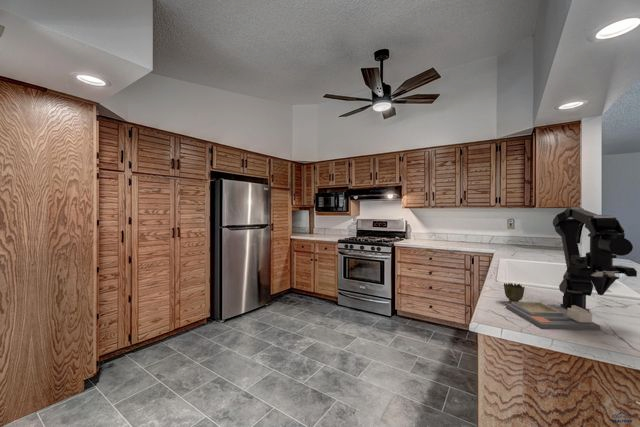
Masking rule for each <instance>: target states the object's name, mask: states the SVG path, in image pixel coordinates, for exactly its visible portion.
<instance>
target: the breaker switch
mask: <svg viewBox="0 0 640 427" xmlns="http://www.w3.org/2000/svg"><path fill="white" fill-rule="evenodd" d="M566 310H567V317H569V318H571V319H573V320H576V321H578V322H587V323H592V322H593V321H592V320H593V318H592V317H593V315H592V314H593V313H592V312H590V311H588V310H585V309H583V308H580V307H578V306H575V305H572V308H566Z"/></svg>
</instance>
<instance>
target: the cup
mask: <svg viewBox="0 0 640 427" xmlns="http://www.w3.org/2000/svg"><path fill="white" fill-rule="evenodd" d="M503 289H504V295H505V297H506V298H507V299H508V302H509V304H512V302H520V301H521V300H522V299H523V297H524V293H525V286H523V285H522V284H520V283H518V284H517V283H514V284H513V283H512V282H508V283H507V282H506V283H505V282H504V283H503Z"/></svg>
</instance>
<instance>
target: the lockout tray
mask: <svg viewBox="0 0 640 427" xmlns="http://www.w3.org/2000/svg"><path fill="white" fill-rule="evenodd" d="M510 304H511V305H513V306H515V307H517V308H519V309H520V310H522V311H524V312H526V313H528V314H530V315H532V316H564V313H563V312H561V311H559V310H557V309H555V308H552V307H550V306H548V305H549V304H546V303H543V302H542V301H519V302H512V303H510Z"/></svg>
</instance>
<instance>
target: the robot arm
mask: <svg viewBox="0 0 640 427" xmlns="http://www.w3.org/2000/svg"><path fill="white" fill-rule="evenodd" d="M582 224H584V228H586V230H588V232H589V233H588V234H587V237H589V252H588V251H587V252H586V253H585V256H581V254H580V248H579V244H578V238H577V234H578V233H579V231H580V230H581V225H582ZM552 226H553V227H554V231H555V232H556V234H558V235H559V236H560V237H561V242H562V247H563V253H564V259H565V265H566V266H565V267H566V270H565V273H564V274H563V277H562V278H563V279H562V281H561V283H559V286H558V289H559V291H560V292H561V293H563V296H562V303H560V306H562V307H564V308H566V309H567V308H572V305H575V306H578V307H580V308H583V309H585V310H588V312H590V309H589V308H586V307H587V296H589V297H591V296H592V294H593V290H594V289H595V292H596V293H597V295H599V296H604V294H605V293H606V292H607V291H608V289H609V288H610V287H611V286H612V284H613V283H614V282H616V280H619V279H620V277H618V276H616V274H622V275H623V274H624V275H625V276H626V277H630V278H632V277H634V278H635V277H636V278H637V277H638V271H637V270H636V269H635V267H630V266H625V265H621V264H619V265H618V264H617V265H616V264H615V265H613V264H614V263H613V262H614V261H613V260H614V259H617V256H618V257H619V256H623V257H624V256H627V255H630V253H631V252H632V251H633V249H634V246H633V244H632V242H631V240H629V239H627V238H625V230H624V228H623V227H622V225H621V224H620V221H619V219H618V218H617V217H616V216H615V215H611V214H610V215H608V214H597V213H595V212H591V211H590V210H586V209H584V208H583V207H568V208H566V209H565V210H564V211H562V212H560V213H558V214H556V216H555V217H554V218H553V220H552Z"/></svg>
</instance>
